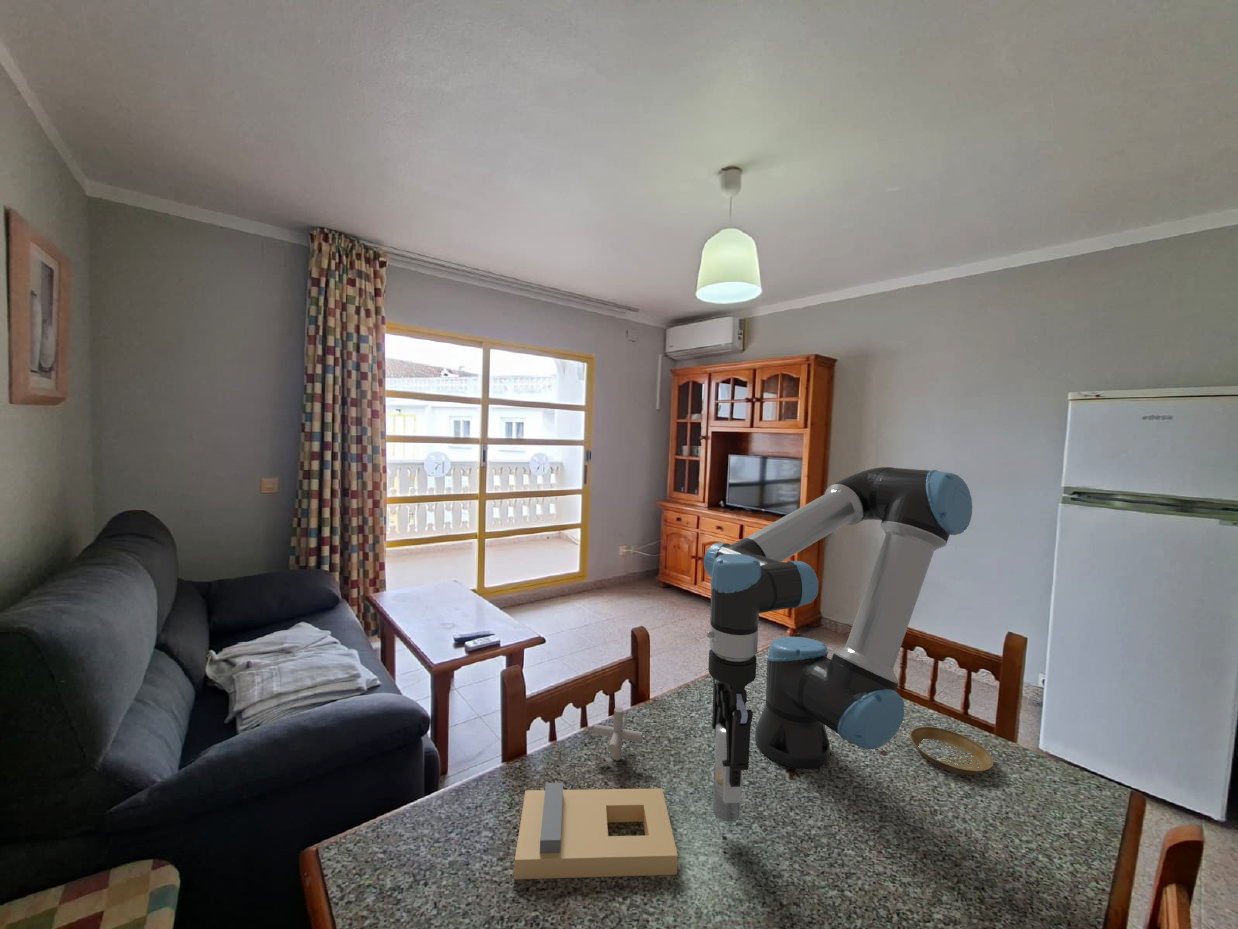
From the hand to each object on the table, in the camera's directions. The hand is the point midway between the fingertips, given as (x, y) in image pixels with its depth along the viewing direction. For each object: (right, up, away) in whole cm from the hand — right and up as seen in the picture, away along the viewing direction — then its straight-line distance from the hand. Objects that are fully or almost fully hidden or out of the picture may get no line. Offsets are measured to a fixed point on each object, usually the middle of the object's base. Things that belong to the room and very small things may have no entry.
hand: (727, 789), depth 81 cm
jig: (-22, -7, -2) cm, 23 cm away
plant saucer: (+52, -9, +24) cm, 58 cm away
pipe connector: (-18, -6, +19) cm, 27 cm away
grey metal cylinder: (0, -4, 0) cm, 4 cm away
